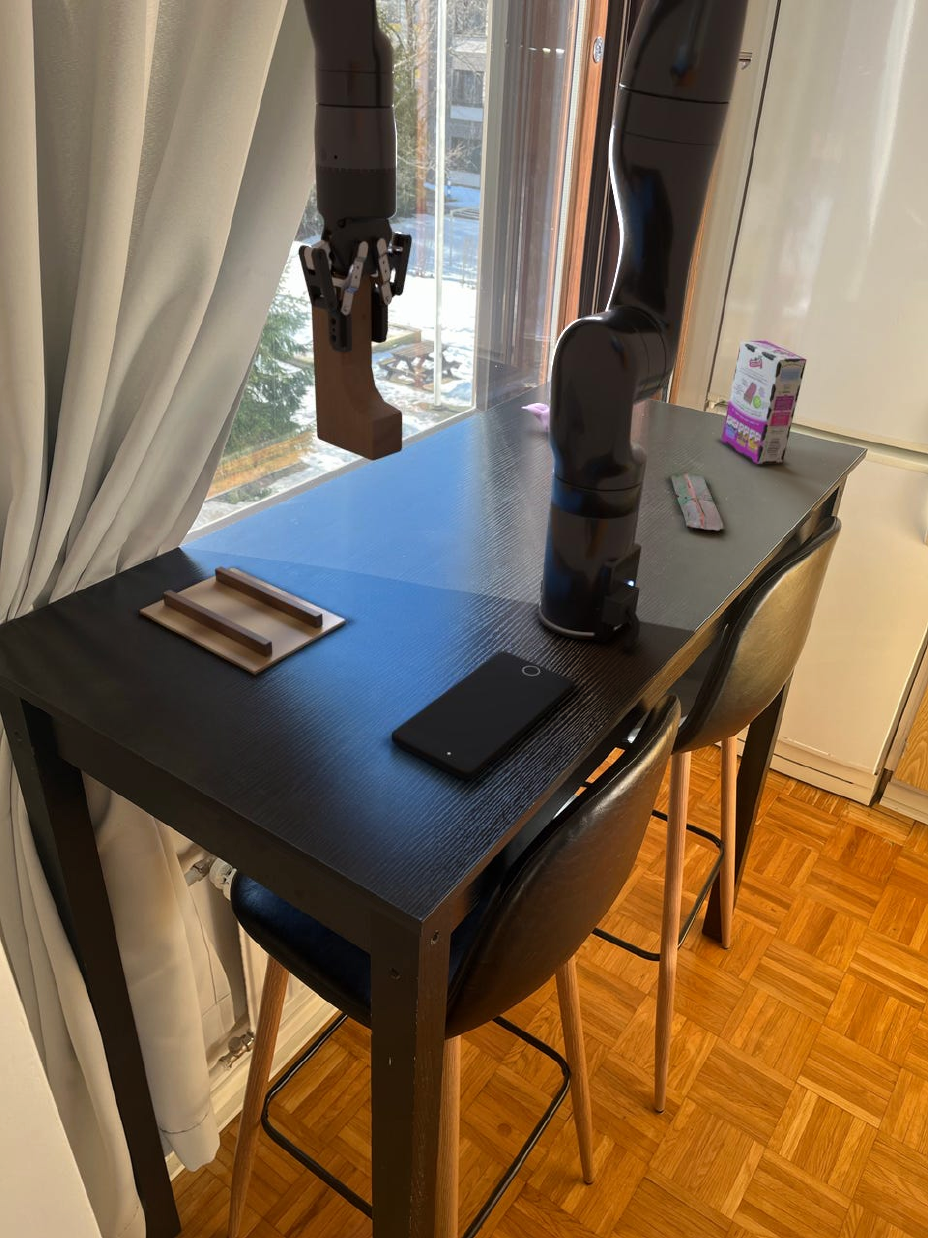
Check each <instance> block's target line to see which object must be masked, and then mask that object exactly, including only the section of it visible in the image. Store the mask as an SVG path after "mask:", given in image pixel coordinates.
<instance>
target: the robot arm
mask: <svg viewBox="0 0 928 1238" xmlns="http://www.w3.org/2000/svg"><path fill="white" fill-rule="evenodd" d="M302 2H303V7H304V12H305V17H306V21H307V25H308V29H309V33H310V36H311V37H310V38H311V40H312V45H313V50H314V67H313V68H314V88H315V89H314V92H315V93H314V95H315V103H316V104H315V117H314V128H313V129H314V130H313V133H314V134H313V136H314V137H313V138H314V158H315V159H314V160H315V161H314V162H315V163H314V165H315V167H314V168H315V191H316V192H315V193H316V210H317V212H318V213H319V215H320V216H321V217H322V220H323V228H322V232H321V235H320V240H319V241H318V242H316V243H314V244H312V245H305V244H301V245H300V247H299V248H298V257H299V261H300V265H301V269H302V274H303V277H304V282H305V287H306V289H307V293H308V297H309V301H310V305H312V306H313V307H317V308H320V309H324V310H326V311H327V313H328V326H329V342H330V345H331V346H332V348H333V350H335V351H339V352H343V353H346V352H350V351H351V350H352V320H351V314H349V312H350V310H351V304H352V299H353V294H354V292H355V291H357V290H358V288H359V283H360V278H361V277H362V276H363V275H365V274H369V275H370V276H369V277H370V283H371V322H372V343H376V344H382V343H386V341H387V338H388V337H387V336H388V332H389V305H390V304H391V303H392V301H393V298H394V297H396V296H397V297H401V296H402V295H403V293H404V289H405V285H406V279H407V278H406V277H407V271H408V266H409V262H410V261H409V260H410V256H411V255H410V254H411V249H412V244H413V243H412V242H413V237H412V235H411V234H409V233H405V232H400V231H393V228H392V225H391V222H390V221H391V220H390V219H392V218H393V217H394V216H395V215H396V214H397V211H398V208H397V207H398V205H397V203H398V201H397V200H398V177H397V175H398V174H397V173H398V161H397V160H398V138H397V137H398V135H397V134H398V133H397V126H396V125H397V124H396V117H395V107H394V106H395V59H394V58H395V57H394V48H393V44H392V41H391V39H390V38H389V36H388V35H387V34H386V33H385V32H384V31H383V30H382V28H381V27H380V23H379V18H378V9H377V0H302ZM749 2H750V0H643V2H642V5H641V8H640V11H639V14H638V17H637V20H636V22H635V25H634V29H633V31H632V35H631V38H630V42H629V44H628V47H627V50H626V51H627V52H626V55H625V58H624V63H623V66H622V70H621V74H620V80H619V86H618V90H617V96H616V102H615V108H614V113H613V118H612V124H611V128H610V136H609V144H608V161H609V172H610V179H611V180H610V181H611V186H612V191H613V197H614V203H615V207H616V214H617V218H618V225H619V253H618V259H617V266H616V270H615V271H616V272H615V276H614V280H613V285H612V289H611V292H610V297H609V300H608V303H607V306H606V309H605V311H601V312H598V313H594V314H590V315H587V316H586V315H585V316H584V317H581V318H578V319H576V320H574V321H572V322H570V323H569V324H568V325H567V327H565V329H564V330H563V331H562V332H561V334H560V336H559V338H558V340H557V342H556V344H555V348H554V351H553V356H552V361H551V369H550V382H549V405H548V406H549V429H548V431H549V432H548V431H547V432H548V441H549V445H550V448H551V452H552V456H553V467H552V476H551V485H550V487H551V488H550V495H549V496H550V497H549V507H548V508H549V509H548V517H547V527H546V528H547V529H546V538H545V549H544V559H543V571H542V580H541V582H540V592H539V593H540V597H539V598H540V599H539V600H540V602H539V606H538V619H539V621H540V622H541V624H542V625H543V626H544V627H545V628H546V629H548V630H549V631H551V632H553V633H554V634H557V635H560V636H562V637H566V638H569V639H574V640H581V641H595V642H598V643H601V644H604V643H606V642H607V641H608V640H609V639H610V638H612V637H613V636H614V635H616V634H617V633H619V632H620V631H621V630H622V629H623V628H624V627H625V626H627V624H629V623H631V632H630V634H629V636H628V637H627V639H626V640H625V642H624V645H625V646H626V647H628V648H632V647H633V645H634V643H635V642H636V640H637V639H638V637H639V634H640V631H641V624H640V620H639V617H638V615H637V608H638V601H639V596H640V595H639V594H640V590H641V589H640V587H637V586H636V585H637V578H638V573H639V572H638V571H639V566H640V561H641V553H642V545H641V544H639V543H637V542H636V541H635V540H636V534H637V527H638V520H639V514H640V507H641V501H642V494H643V487H644V480H645V475H646V470H647V460H648V458H647V457H648V456H647V452H646V449H645V448H644V447H643V446H642V445H641V444H640V443H639V442H638V441H635V440H633V439H631V434H632V421H633V410H634V406H635V405H637V404H640V403H642V402H644V401H646V400H647V401H648V400H649V399H651V398H652V397H654V396H655V395H657V394H658V393H659V392H660V391H661V390H662V389H663V388H664V387H665V385H666V384H667V383H668V381H669V380H670V378H671V375H672V374H673V371H674V369H675V366H676V361H677V357H678V351H679V347H680V346H679V345H680V340H681V331H682V326H683V325H682V324H683V317H684V310H685V302H686V295H687V288H688V282H689V275H690V269H691V264H692V259H693V255H694V250H695V246H696V242H697V238H698V235H699V231H700V227H701V222H702V218H703V215H704V210H705V206H706V201H707V197H708V193H709V188H710V184H711V179H712V176H713V172H714V168H715V165H716V161H717V158H718V154H719V151H720V147H721V142H722V139H723V135H724V131H725V126H726V123H727V119H728V114H729V109H730V106H731V100H732V97H733V92H734V86H735V81H736V76H737V71H738V66H739V62H740V56H741V51H742V45H743V40H744V34H745V28H746V22H747V16H748V8H749ZM393 270H395V271H394V278H393V281H391V280H392V273H393ZM336 272H338V273H339V274H340V275H343V276H346V277H347V279H345V280H342V279H338V278H335V276H334V273H336ZM338 287H340V288H342V292H341V298H340V300H338V299H337V288H338ZM320 288H321V290H322V294H323V295H322V294H321V290H320Z"/></svg>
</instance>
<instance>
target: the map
mask: <svg viewBox="0 0 928 1238" xmlns="http://www.w3.org/2000/svg"><path fill="white" fill-rule="evenodd" d="M670 477H671V482H672V487H673V489H674V493H675V495H676V496H677V498H676V499H677V502H678V504H679V506H680V509H681V512H682V515H683V516H684V521H685V524H686V526H687V527H691V528H695V529H703V530H708V531H711V530H714V531H720V530H721V529H722V530H724V524H723V520H722V517H721V516H720V513H719V511H718V509H717V506H716V505H715V501H714V499H713V497H712V494H711V492H710V490H709V488H708V486H707V484H706V481H705V477H704V476H702V475H697V474H692V473H689V472H682V473H681V472H680V473H674V474H671V476H670Z"/></svg>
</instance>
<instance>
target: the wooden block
mask: <svg viewBox="0 0 928 1238" xmlns="http://www.w3.org/2000/svg"><path fill="white" fill-rule="evenodd" d="M334 276H335V278H338V279H342V280H345V279H347V277H346V276H343V275H340V274H339V273H338V272H336V273H334ZM369 276H370V275H369V274H365V275H363V276H362V277H361V278H360V283H359V288H358V290H357V291H355V292H354V294H353V299H352V304H351V310H350V312H349V314H351V320H352V350H351V351H350V352H346V353H343V352H339V351H335V350H333V348H332V346H331V345H330V342H329V326H328V313H327V311H326V310H324V309H320V308H317V307H313V306H312V305H311V304H310V305H311V325H312V326H311V327H312V328H311V329H312V349H313V373H314V393H315V395H314V396H315V417H316V437H317V440H319V441H322V442H325V443H327V444H329V445H332V446H334V447H337V448H339V449H342V450H344V451H346V452H350V453H352V454H354V455H357V456H360V457H361V458H365V459H367V460H369V461H373V462H374V461H377V460H380V459H383V458H385V457H389V456H391V455H394V454H397V453H400V452H402V449H403V412H402V411H401V410H400V409H399V408H397V407H395V406H394V405H392V404H390V403H388V402H387V401H385V399H384V398H383V396H382V394H381V392H380V391H379V389H378V387H377V386H376V379H375V375H374V371H373V342H372V322H371V283H370V277H369ZM320 290H321V288H320ZM341 292H342V288H340V287H338V288H337V299H338V300H340V298H341ZM321 294H322V290H321ZM322 295H323V294H322Z"/></svg>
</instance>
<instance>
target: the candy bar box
mask: <svg viewBox="0 0 928 1238" xmlns="http://www.w3.org/2000/svg"><path fill="white" fill-rule="evenodd" d="M739 344H740V345H739V348H738V354H737V360H736V364H735V369H734V375H733V380H732V383H731V389H730V395H729V400H728V406H727V410H726V415H725V420H724V424H723V429H722V430H723V431H722V436H721V442H722V443H724V444H726V445H727V446H728V447H730V448H731V449H733V450H734V451H736V452H738V453H739V454H740V455H742V456H743V457H745V458H747V460H750V461H751V462H752V463H754V464H756V465H757V466H759V465H775V464H777V465H778V464H782V463H783V462H784V458H785V455H786V450H787V445H788V441H789V436H790V432H791V429H792V424H793V419H794V416H795V410H796V407H797V403H798V397H799V396H800V395H799V394H800V389H801V387H802V382H803V377H804V373H805V369H806V365H807V364H806V363H807V359H806V358H804V357H802V356H800V355H798V354H796V353H793V352H791V351H790V350H787V349H785V348H782V347H780V346H778V345H776V344H774V343H772V342H769V341H767V340H750V341H747V340H746V341H740V343H739Z"/></svg>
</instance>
